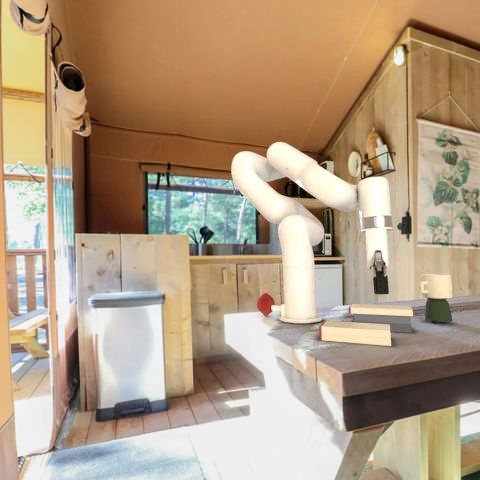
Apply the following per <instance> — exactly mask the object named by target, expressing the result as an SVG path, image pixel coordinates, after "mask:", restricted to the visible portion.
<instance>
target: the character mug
mask: <svg viewBox="0 0 480 480" xmlns="http://www.w3.org/2000/svg"><path fill="white" fill-rule="evenodd" d="M419 278H420V281H419V292H420V294H421V296H422V297H423V298H426V302H425V309H424V320H425V321H432V323H434V324H435V323H437V322H440V323H452V322H453V316H452V311H451V306H450V304H449V301H448V300H449V299H452V298H453V282H452V274H449V273H421V274H420V277H419Z"/></svg>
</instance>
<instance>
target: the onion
mask: <svg viewBox="0 0 480 480" xmlns="http://www.w3.org/2000/svg"><path fill="white" fill-rule="evenodd" d="M272 305H276V302H275V299H274V298H273V297H272V296H271V295H270V294H269V293H268V292H267V291H265V290H263V293H262V294H261V295H260V296H259V298H258V299H257V301H256V308H257V309H258V311H259V312H260V313H261V314H262V315H263V316H265V317H268V316H269V315H270V314H271V313H273V311H272V310H271V307H272Z"/></svg>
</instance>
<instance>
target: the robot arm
mask: <svg viewBox="0 0 480 480" xmlns="http://www.w3.org/2000/svg"><path fill="white" fill-rule="evenodd" d="M318 163H319V162H318V161H317V160H315V159H314V158H312V157H310V156H308V155H307V154H305V153H303V152H302V151H300V150H299V149H298V148H296V147H294V146H292V145H290V144H288V143H287V142H283V141H277V142H276V141H275V142H274V143H272V144H271V145H270V146H269V147H268V148H267V151H266V157H265V156H263V155H261V154H258V153H257V152H253V151H249V150H243V151H240V152H238V153H236V154H235V155H234V157H233V158H232V161H231V167H230V172H231V179H232V182H233V183H234V186H235V187H236V188H237V190H238V192H240V193H241V195H243V196H244V197H245V199H247V201H248V202H249V203H250V204H251V205H252V206H253V207H254V209H256V210H257V212H259V213H260V214H261V216H263V218H264V219H265V220H266V221H267V222H268V223H271V224H275V225H279V226H278V240H279V244H280V249H281V261H282V263H281V264H282V285H283V287H282V288H283V303H281V305H277V304H275V305H272V307H271V310H272V313H280V314H279V316H278V319H279V321H281V322H284V323H289V324H314V323H315V324H316V323H320V322H322V321H323V315H321V314H319V313H318V311H317V291H316V289H317V288H316V287H317V286H316V266H315V256H314V255H315V254H314V251H313V247H315V246H317V245H319V244H320V243H321V242H322V241H323V239H324V237H325V228H324V226H323V223H322V222H321V221H320V220H319V219H318V217H316V216H315V215H314V214H313V213H311V212H310V210H309V209H307V208H306V207H305V206H304V205H303V204H302V203H300V202H299V201H297V199H294V198H292V197H289V196H286V195H284V194H281V193H279V192H277V191H276V190H275V189H274V188H273V187H271V185H270V184H269V183H268V182H273V181H276V180H280V179H283V178H288V179H289V180H290V181H292V182H293V183H295V184H297V185H298V186H299V187H300V188H302V189H303V190H304V191H305V192H307V193H308V194H310V195H311V196H313V197H314V198H315V199H317V200H318V201H319V202H321V203H322V204H324V205H325V206H327V207H329V208H332V209H335V210H337V211H341V212H344V213H350V212H354V211H359V220H360V223H359V224H360V232H361V233H364V234H365V254H366V268H367V269H368V270H370V271H371V270H372V268H373V277H372V281H373V293H374V295H389V294H390V289H389V276H388V275H387V269H389V267H390V242H389V241H390V240H389V231H390V232H391V231H393V230H394V228H393V215H392V214H393V213H392V204H391V194H390V183H389V182H390V181H389V179H388V178H386V177H385V176H370V177H366V178H364V179H361V180H360V181H359V182H358V184H351V183H350V182H348V181H345V180H344V179H342V178H340V177H338V176H337V175H335V174H333V173H332V172H330V171H328V170H327V169H325V168H323V166H321V165H319V164H318Z"/></svg>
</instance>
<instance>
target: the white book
mask: <svg viewBox="0 0 480 480" xmlns="http://www.w3.org/2000/svg"><path fill="white" fill-rule="evenodd" d="M348 314H353V315H354V314H372V315H393V316H410V317H414V311H413V308H412V306H411V305H400V304H399V305H397V304H396V305H395V304H371V303H369V304H367V303H366V304H365V303H351V304H350V305H349V306H348Z"/></svg>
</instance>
